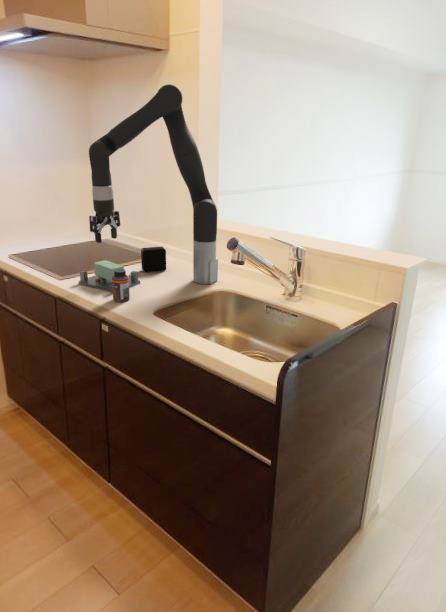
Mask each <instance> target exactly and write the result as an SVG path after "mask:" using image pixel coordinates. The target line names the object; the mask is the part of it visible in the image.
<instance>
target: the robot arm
mask: <svg viewBox="0 0 446 612" xmlns="http://www.w3.org/2000/svg"><path fill="white" fill-rule="evenodd" d="M182 104H183V94H182V91H181V89H180V88H179V87H178V86H177V85H174V84H165V85H162V86H161V87H160V88H159V89H158V91H156V94H154V95H153V97H152V98H151V99H149V101H148V102H147V103H146V104H144V105H143V106H142V107H140V108H139V109H138V110H136V111H135V112H134V113H132V114H130V115H129V116H128V117H125V119H124V120H122V121H120V122H119V123H117V125H115V126H114V127H113V128H111V129H110V130H109V131H108V132H107V133H106V134H105V135H103V136H101V137H100V138H98V139H97V140H96V141H94V142H93V143H91V145H90V146H89V148H88V157H89V164H90V170H91V184H92V185H91V186H92V189H91V193H92V202H93V203H92V204H93V211H94V212H95V215H89V217H88V218H89V220H88V221H89V222H88V223H89V232H90V233H93V234H94V241H95V242H96V244H98V243H99V244H102V242H103V241H102V234H101V233H102V229H103V228H105V226H107V225H108V226H109V227H110V237H111V239H117V237H118V231H117V229H118V227H120V226H121V217H120V211H118V210H115V202H114V190H113V184H112V175H111V170H110V168H111V167H110V157H111V155H113V154H115V152H117V151H118V150H120V149H122V148H123V147H125V146H127V145H128V144H129V143H130V142H132V141H133V140H135V138H137V137H138V136H139V135H140V134H141V133H143V132H144V131H145V130H146V129H148V128H149V127H150V126H151V125H152V124H153V123H155V122H157V121H158V120H160V119H161V118H162V119H163V121H164V124H165V126H166V129H167V132H168V137H169V140H170V141H169V142H170V145H171V149H172V152H173V156H174V159H175V162H176V165H177V167H178V171H179V173H180V176H181V177H182V180H183V181H184V182H185V184H186V186H187V189H188V192H189V195H190V199H191V202H192V211H193V213H192V214H193V216H192V217H193V220H192V222H193V224H192V225H193V227H192V228H193V229H192V231H193V232H192V235H193V237H192V239H193V243H192V244H193V250H192V251H193V260H192V261H193V262H192V263H193V266H192V267H193V269H192V271H193V277H192V278H193V280H192V281H193V282H194V283H197V284H200V285H201V284H202V285H203V284H204V285H206V284H207V285H211V284H213V283H215V282H217V281H218V278H219V277H218V276H219V275H218V274H219V273H218V272H219V268H218V267H219V258H217V233H218V209H217V206H216V204H215V202H214V199H213V197H212V195H211V193H210V190H209V188H208V185H207V182H206V175H205V171H204V166H203V162H202V158H201V154H200V152H199V149H198V146H197V143H196V141H195V139H194V137H193V134H191V133H192V132H191V131H190V129H189V127H188V125H187V121H186V118H185V115H184V111H183V108H182V107H183V106H182Z"/></svg>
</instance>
